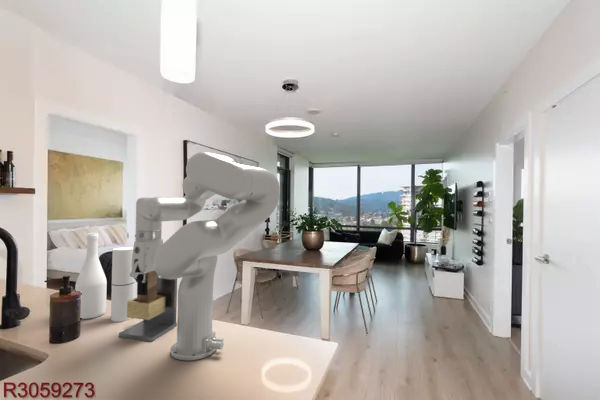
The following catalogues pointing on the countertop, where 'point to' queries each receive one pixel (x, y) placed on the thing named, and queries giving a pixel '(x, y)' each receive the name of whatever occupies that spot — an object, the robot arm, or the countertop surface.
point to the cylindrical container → (121, 283)
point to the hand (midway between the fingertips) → (147, 292)
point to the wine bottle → (92, 282)
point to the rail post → (149, 288)
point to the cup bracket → (153, 313)
